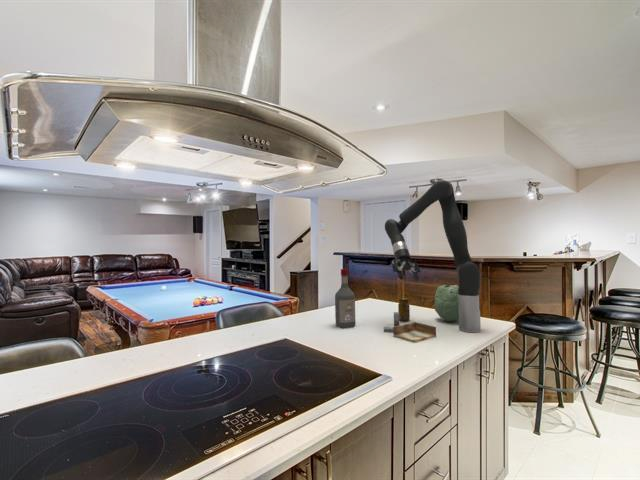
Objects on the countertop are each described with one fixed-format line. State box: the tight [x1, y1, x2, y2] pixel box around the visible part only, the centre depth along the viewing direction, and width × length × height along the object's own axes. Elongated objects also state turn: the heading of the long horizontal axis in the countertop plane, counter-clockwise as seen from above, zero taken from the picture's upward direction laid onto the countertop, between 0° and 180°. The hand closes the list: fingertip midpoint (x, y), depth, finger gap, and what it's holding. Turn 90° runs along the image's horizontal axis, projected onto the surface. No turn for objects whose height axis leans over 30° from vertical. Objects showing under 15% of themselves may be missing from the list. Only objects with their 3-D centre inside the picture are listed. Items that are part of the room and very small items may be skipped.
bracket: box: [383, 311, 400, 334], centre depth 158 cm, size 8×4×9 cm, turn 78°
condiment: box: [397, 297, 415, 323], centre depth 180 cm, size 7×8×12 cm
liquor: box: [334, 268, 356, 329], centre depth 171 cm, size 9×9×30 cm
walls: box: [392, 321, 437, 336], centre depth 148 cm, size 15×12×4 cm
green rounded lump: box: [433, 284, 459, 322], centre depth 177 cm, size 16×19×20 cm
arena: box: [392, 330, 437, 344], centre depth 148 cm, size 15×12×1 cm
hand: (409, 279), depth 157 cm, fingers open, 8 cm apart
